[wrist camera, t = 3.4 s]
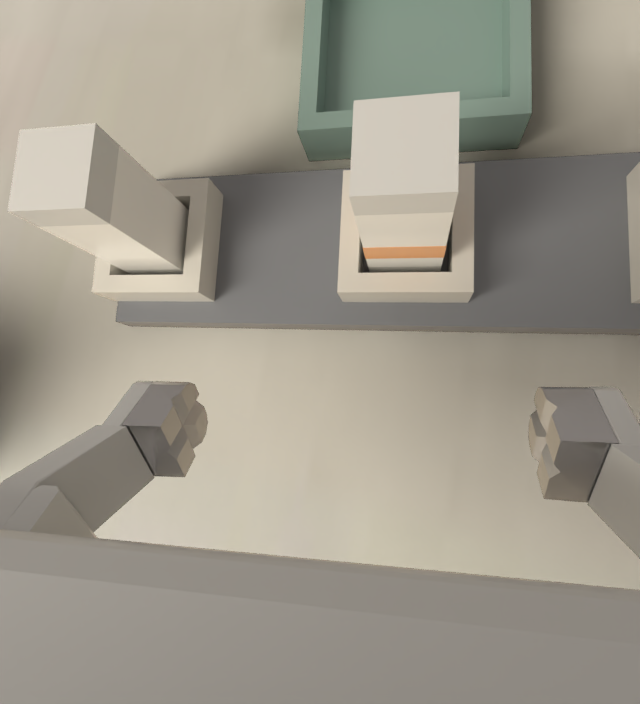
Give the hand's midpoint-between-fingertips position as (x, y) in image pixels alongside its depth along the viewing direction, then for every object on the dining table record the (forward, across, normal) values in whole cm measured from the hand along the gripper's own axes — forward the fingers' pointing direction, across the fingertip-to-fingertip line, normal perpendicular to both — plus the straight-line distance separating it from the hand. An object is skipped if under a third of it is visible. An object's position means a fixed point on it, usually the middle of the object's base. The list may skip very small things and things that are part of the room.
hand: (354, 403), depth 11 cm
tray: (+25, -1, -5) cm, 25 cm away
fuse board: (+16, -1, +4) cm, 17 cm away
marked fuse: (+15, -1, +3) cm, 15 cm away
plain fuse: (+15, +13, +2) cm, 20 cm away
